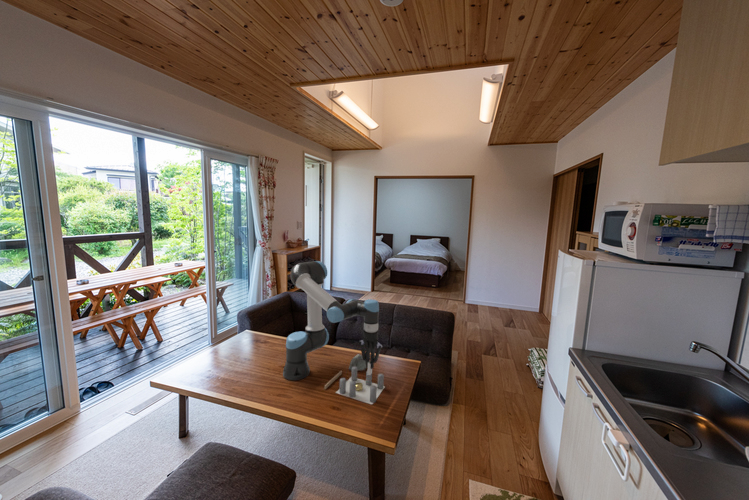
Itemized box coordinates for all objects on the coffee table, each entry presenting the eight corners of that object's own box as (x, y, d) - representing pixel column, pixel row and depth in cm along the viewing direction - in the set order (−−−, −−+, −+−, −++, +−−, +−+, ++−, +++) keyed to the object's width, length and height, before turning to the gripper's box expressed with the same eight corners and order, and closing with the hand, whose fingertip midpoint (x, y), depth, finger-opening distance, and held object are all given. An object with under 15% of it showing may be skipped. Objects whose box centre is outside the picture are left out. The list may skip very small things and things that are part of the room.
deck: (324, 391, 151) (324, 376, 150) (340, 375, 167) (340, 362, 166) (373, 407, 140) (373, 391, 139) (386, 388, 155) (386, 374, 154)
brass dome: (352, 389, 151) (352, 385, 151) (356, 385, 155) (356, 381, 155) (360, 392, 150) (360, 388, 149) (363, 387, 154) (364, 383, 153)
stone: (358, 357, 168) (362, 349, 178) (345, 366, 170) (349, 357, 180) (368, 370, 168) (371, 361, 178) (355, 379, 170) (359, 370, 180)
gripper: (356, 330, 146) (355, 374, 148) (379, 335, 140) (378, 380, 143) (362, 325, 152) (361, 367, 155) (385, 329, 147) (384, 373, 150)
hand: (369, 373), depth 149 cm, fingers closed
